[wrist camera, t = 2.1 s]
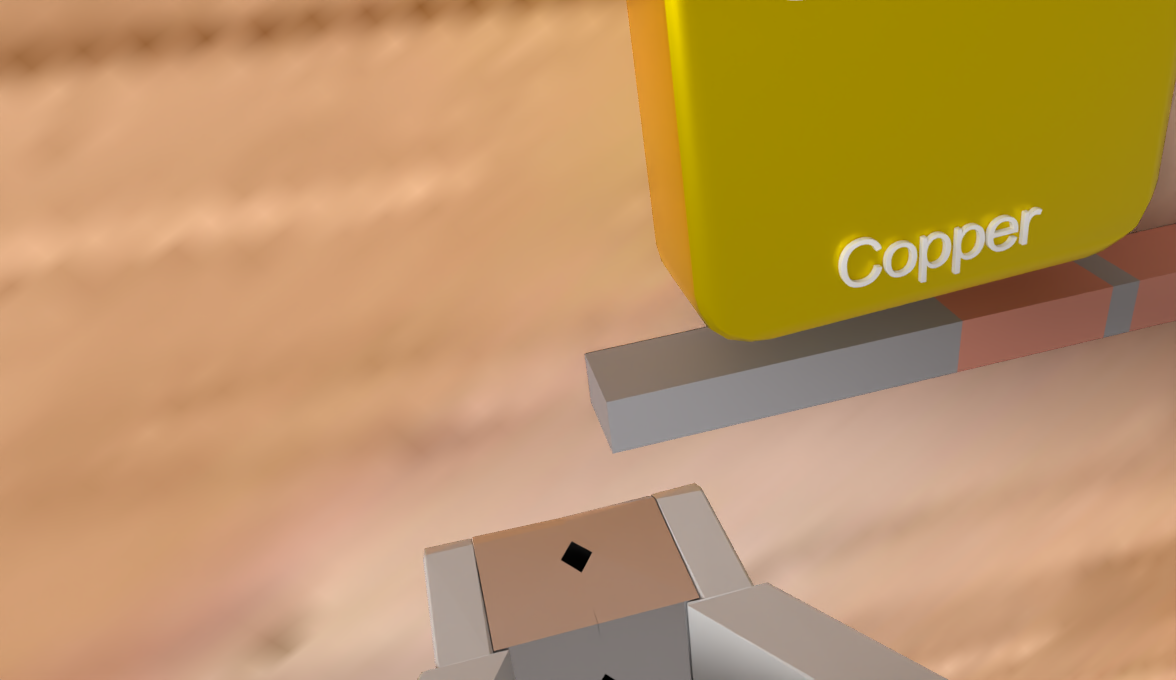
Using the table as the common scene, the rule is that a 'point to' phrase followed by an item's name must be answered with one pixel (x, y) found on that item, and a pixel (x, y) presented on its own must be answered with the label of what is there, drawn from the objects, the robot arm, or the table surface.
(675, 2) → the element tile
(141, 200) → the table surface
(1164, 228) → the trap track
